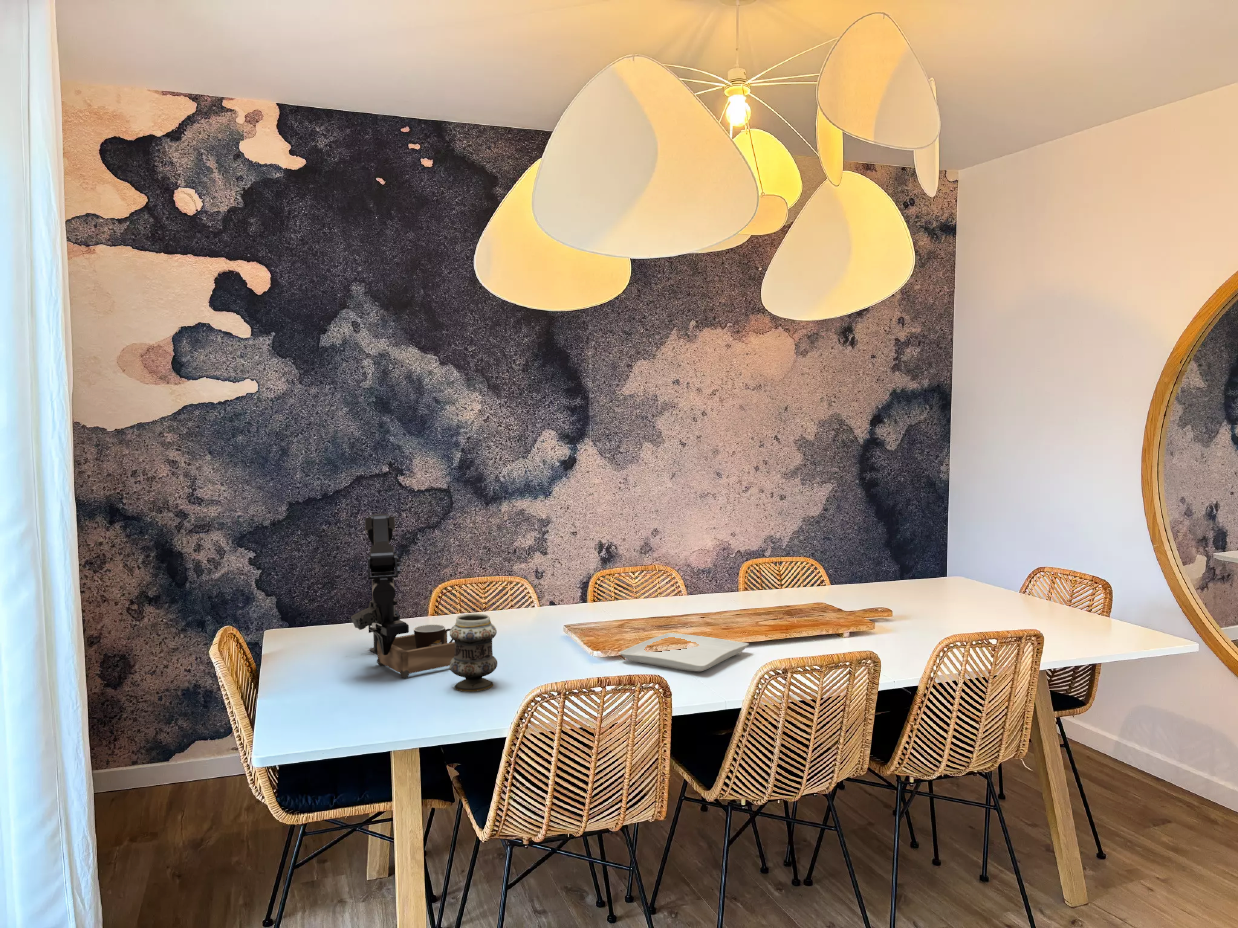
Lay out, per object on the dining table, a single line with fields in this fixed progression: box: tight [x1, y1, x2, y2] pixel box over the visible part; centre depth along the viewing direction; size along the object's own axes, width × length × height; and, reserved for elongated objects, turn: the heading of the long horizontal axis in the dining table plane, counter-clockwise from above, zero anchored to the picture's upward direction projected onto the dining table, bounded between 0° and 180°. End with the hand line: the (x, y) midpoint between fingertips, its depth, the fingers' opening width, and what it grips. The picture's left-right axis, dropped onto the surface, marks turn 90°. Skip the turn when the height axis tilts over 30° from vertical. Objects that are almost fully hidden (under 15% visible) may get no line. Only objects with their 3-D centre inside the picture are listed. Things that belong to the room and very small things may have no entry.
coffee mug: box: [413, 624, 454, 649], centre depth 256 cm, size 12×9×10 cm
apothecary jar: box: [449, 613, 498, 693], centre depth 234 cm, size 12×12×18 cm
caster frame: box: [376, 628, 455, 679], centre depth 255 cm, size 18×21×7 cm
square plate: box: [618, 632, 750, 672], centre depth 258 cm, size 27×27×4 cm
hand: (385, 654), depth 248 cm, fingers closed
